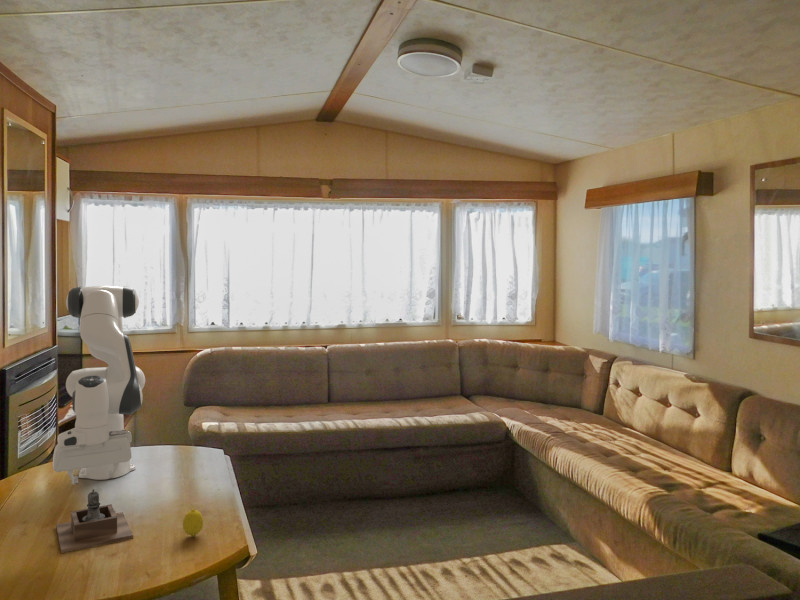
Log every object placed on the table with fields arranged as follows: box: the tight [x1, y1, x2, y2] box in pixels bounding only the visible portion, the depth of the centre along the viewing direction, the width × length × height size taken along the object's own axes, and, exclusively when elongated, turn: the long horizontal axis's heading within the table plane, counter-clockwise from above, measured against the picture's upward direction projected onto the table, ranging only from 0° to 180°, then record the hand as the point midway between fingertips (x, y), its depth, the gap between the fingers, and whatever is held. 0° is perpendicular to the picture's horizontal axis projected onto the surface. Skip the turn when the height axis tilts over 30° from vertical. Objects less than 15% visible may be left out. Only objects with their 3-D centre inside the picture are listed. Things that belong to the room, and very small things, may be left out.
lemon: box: [182, 508, 204, 537], centre depth 181 cm, size 6×6×8 cm
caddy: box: [55, 504, 134, 554], centre depth 181 cm, size 18×18×6 cm
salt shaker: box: [82, 488, 105, 522], centre depth 181 cm, size 6×6×12 cm
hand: (93, 480), depth 181 cm, fingers open, 8 cm apart
